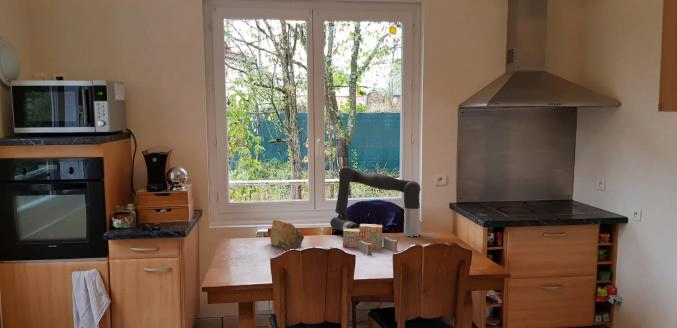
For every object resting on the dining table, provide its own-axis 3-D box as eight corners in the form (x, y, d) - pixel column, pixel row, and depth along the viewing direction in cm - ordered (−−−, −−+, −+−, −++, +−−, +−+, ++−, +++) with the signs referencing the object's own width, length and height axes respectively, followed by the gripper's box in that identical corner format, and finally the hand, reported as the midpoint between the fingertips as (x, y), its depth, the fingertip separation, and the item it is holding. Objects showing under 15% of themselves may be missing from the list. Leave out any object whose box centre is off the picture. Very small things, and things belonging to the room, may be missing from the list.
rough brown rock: (310, 251, 246) (312, 223, 246) (281, 252, 238) (283, 224, 238) (294, 243, 266) (296, 217, 266) (267, 243, 259) (269, 217, 259)
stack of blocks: (342, 247, 251) (342, 225, 251) (344, 244, 258) (344, 223, 257) (381, 249, 248) (381, 226, 247) (382, 246, 254) (382, 224, 253)
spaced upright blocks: (386, 246, 254) (386, 236, 253) (397, 250, 245) (397, 240, 244) (358, 250, 245) (358, 240, 245) (368, 254, 237) (368, 244, 236)
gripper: (341, 223, 268) (355, 229, 252) (360, 221, 274) (376, 226, 258) (341, 235, 268) (355, 242, 253) (360, 233, 274) (376, 239, 259)
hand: (366, 234), depth 256 cm, fingers closed
